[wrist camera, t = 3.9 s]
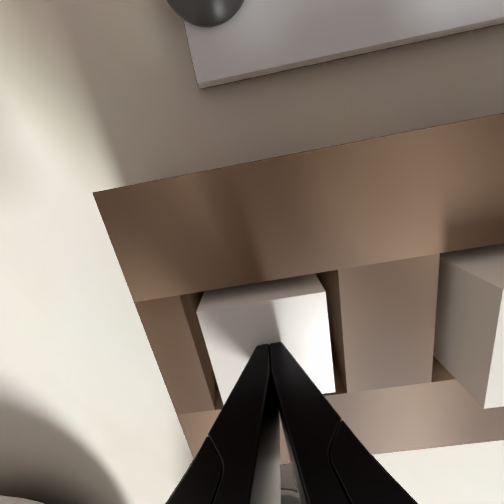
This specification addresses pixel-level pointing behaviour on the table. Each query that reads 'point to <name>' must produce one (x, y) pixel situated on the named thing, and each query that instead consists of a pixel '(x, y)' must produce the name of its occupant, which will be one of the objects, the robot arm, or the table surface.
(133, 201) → the button board
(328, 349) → the button
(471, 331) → the middle button
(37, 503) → the serving bowl
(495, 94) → the table surface
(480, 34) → the table surface
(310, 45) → the pattern card
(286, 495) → the ceramic mug
